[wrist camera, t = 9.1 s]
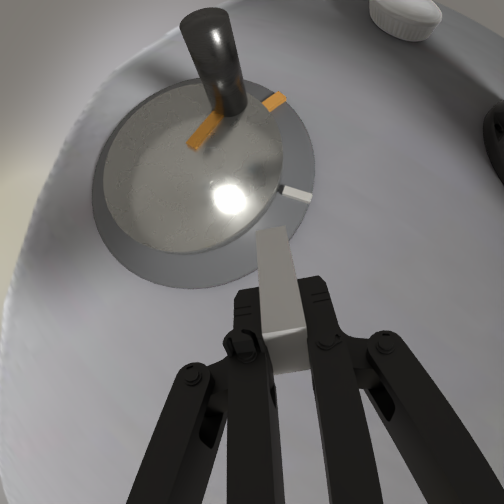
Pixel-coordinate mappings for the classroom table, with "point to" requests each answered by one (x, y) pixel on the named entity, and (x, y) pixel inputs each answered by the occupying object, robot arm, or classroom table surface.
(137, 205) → the dial
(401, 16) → the ramekin
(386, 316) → the classroom table surface
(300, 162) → the base plate
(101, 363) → the classroom table surface
